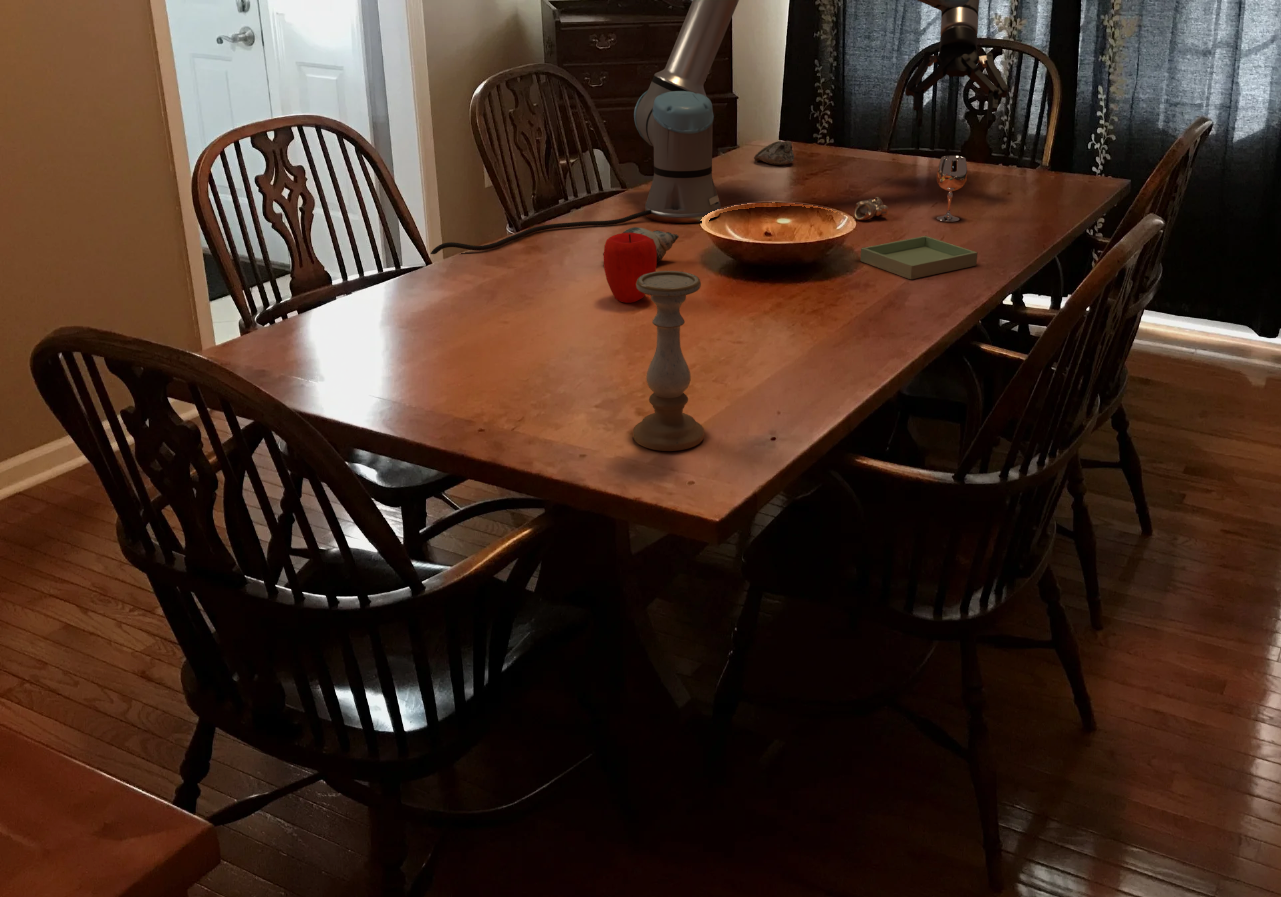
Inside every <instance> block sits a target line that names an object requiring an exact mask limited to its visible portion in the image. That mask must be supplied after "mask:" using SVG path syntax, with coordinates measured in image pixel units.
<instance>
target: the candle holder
mask: <svg viewBox="0 0 1281 897" xmlns="http://www.w3.org/2000/svg"><path fill="white" fill-rule="evenodd" d="M636 287H637V289H638V290H639V291H640V292H642V293H644V294H645V295H648V296H650V300H651V302H653V304H654V305H655V307H656V314H655V316H654V318H653V319H652V324H653V326H654V327H656V347H655V351H654V354H653V356H652V359H651V361H650V363H649V365H648V367H647V371H646V375H645V380H646V384H647V386H648V388H649V389H650V390H651V392H652V393H651V395H649V398H648V402H649V403H650V405H651V406H652V408H653V410H654V412H653V413H650V414H648V415H646V416H645V417H643V418H642V420H641V421H639V422H637V423H636V425H635V426H634V427H633V430H632V435H633V436H632V437H633V439H634V441H635V442H636V443H637V445H639V446H642V447H643V448H646V449H648V450H654V451H659V452H660V451H662V452H677V451H684V450H689V449H691V448H694V447H696V446H698V445H700V444H701V443H702V442H703V440H704V438H705V428H704V427H703V425H702V424H701V423H700V422H698V421H696V420H695V418H694V417H693V416H691V415H689V414H687V413H684V408H685V406H686V405H687V404H688V402H689V397H688V395H687V394H686V393H685V392H686V390H687V389H688V388H689V386H690V384H691V381H692V373H691V370H690V367H689V364H688V363H687V360H686V359H685V356H684V353H683V351H682V347H681V345H682V344H681V327H682V326H683V325H684V324H685V322H686V321H685V319H684V317H683V316H682V314H681V307H682V304H683V303H684V302H686V300H687V296H689V295H692V294H694V293H696V292H698V291H699V290H700V289H701V287H702V283H701V279H700V277H698V276H697V275H695V274H693V273H690V272H686V271H682V270H681V271H680V270H657V271H656V272H651V273H647V274H644V275H642V276H640V277H639V278H638V279H637V282H636Z"/></svg>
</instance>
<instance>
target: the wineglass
mask: <svg viewBox="0 0 1281 897" xmlns="http://www.w3.org/2000/svg"><path fill="white" fill-rule="evenodd" d="M967 180H968V164H967V158H966V157H964V156H960V155H944V156H941V158H940V160H939V163H938V166H937V171H936V182H937V184H938V186H939V187H940V188H941V189H943V190H944V191H948V193H947V196H946V197H947V210H946V212H945V214H943V215H939V216H937V217H936V220H938V221H941V222H947V223H951V222H958V221H960V218H959V217H958V216H956V215H952V213H951V205H952V204H951V203H952V200H953V197H954V194H953V192H954V191H958V190H960V189H962V188H963V187H964V186H965V184H966V183H967Z"/></svg>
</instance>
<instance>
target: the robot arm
mask: <svg viewBox="0 0 1281 897" xmlns="http://www.w3.org/2000/svg"><path fill="white" fill-rule="evenodd" d="M739 1H740V0H692V1H691V4H690V5H689V8H688V10H687V11H688V12H687V14H686V16H685V18H684V21H683V23H682V26H681V28H680V30H679V33H678V35H677V38H676V40H675V43H674V46H673V48H672V50H671V52H670V55H669V58H668V60H667V62H666V65H665V67H664V69H662V70H660V71H658V72H655V73H654V75H653V77H652V80H651V82H650V85H649V87H648V89H647V90H646V91H645V92H643V93H642V94H641V96H640V97H639V98H638V99H637V101H636V103H635V107H634V110H633V118H634V119H633V120H634V124H635V128H636V130H637V132H638V133H639V136H640V137H641V138H642V140H643V141H644V142H646V143H647V144H648V145H649V146H651V147H653V178H652V182H651V185H650V187H649V188H650V189H649V191H648V195H647V197H646V200H645V204H644V210H643V211H640V212H639V211H638V212H637V213H634V214H629V215H627V216H624V217H621V218H617V219H609V220H607V219H606V220H587V221H573V222H560V223H559V222H558V223H549V224H544V225H537V226H535V227H531V228H528V229H525V230H523V231H520V232H518V233H515V234H513V235H510V236H507V237H505V238H502V239H500V240H498V241H496V242H495V241H494V242H492V243H489V244H483V245H472V244H468V243H467V244H466V243H461V242H452V241H451V242H450V241H449V242H443V243H441V244H438V245H437V246H436V247H434V249H432V250H431V251H430V255H436V254H438V253H439V252H440V251H442V250H443V249H447V248H456V249H463V250H467V251H468V250H470V251H477V252H478V251H479V252H481V251H486V250H487V251H488V250H492V249H495V248H499V247H502V246H503V245H505V244H508V243H511V242H513V241H516V240H518V239H521V238H523V237H526V236H528V235H531V234H533V233H537V232H542V231H547V230H553V229H563V228H564V229H565V228H576V227H592V226H593V227H595V226H596V227H597V226H598V227H599V226H611V225H618V224H623V223H627V222H630V221H632V220H635V219H638V218H642V217H647V218H649V219H650V220H654V221H658V222H663V223H669V224H671V223H672V224H693V223H701V222H700V220H701V219H702V217H704V216H705V215H707V214H708V213H710V212H712V211H715V210H717V209H720V208H722V207H721V206H722V204H721V202H720V198H719V195H718V191H717V189H716V185H715V181H714V179H713V130H714V128H713V127H714V126H713V124H714V118H715V116H714V110H713V104H712V101H711V99H710V98H709V97H707V94H706V91H705V88H704V85H705V82H706V80H707V78H708V75H709V73H710V70H711V68H712V65H713V63H714V61H715V58H716V56H717V54H718V51H719V49H720V47H721V44H722V43H723V39H724V37H725V35H726V32H727V30H728V28H729V25H730V23H731V20H732V18H733V16H734V13H735V10H736V9H737V6H738V4H739ZM916 1H918V2H920V3H922V4H925V5H928V6H930V7H932V8H934V9H936V10H939V11H940V15H941V16H940V33H939V34H940V35H939V36H940V38H939V51H938V54H931V52H930V51H925V52H924V53H923V58H922V61H921V63H920V64H919V66H918V67H917V69H916V70H915V71H914V72H913V74H912V76H911V77H910V78H909V80H908V82H907V83H906V85H905V91H904V95H905V96H906V97H909V96H911V97H912V98H913V104H912V105H913V106H912V109H913V111H914V112H915V111H916V112H917V111H918V116H917V127H918V128H922V127H923V118H924V116H923V115H924V99H925V93H927V92H928V91H929V90H930V89H931V88H932V87H933V86H934V85H936V84H937V82H939V81H941V80H942V79H943V78H945V77H946V76H947V77H948V78H955V77H957V78H958V77H959V78H965V77H968V78H969V79H970V80H971V81H974V82H975V83H976V85H978V87H979V88H980V89H981V90H982V91H983V92H984V93H985V94H986V95H987V96H988V98H987V112H986V129H991V128H992V122H993V113H998V109H999V100H1000V98H1002V99H1005V98H1007V96H1008V92H1009V86H1008V84H1007V83H1006V81H1005V79H1004V77H1003V75H1002V74H1001V72H1000V70H999V69H998V67H997V65H996V64H995V62H994V56H993V53H992V52H989V51H988V52H987V53H986V55H979V54H978V33H979V10H980V0H916ZM935 63H936V65H937V67H936V68H935V69H934V70H933V71H932V72H931V73H930V74H929V75H927V76H926V77H925V78H924V79H923V77H924V76H925V75H926V73H927V71H928V69H929V68H931V67H932V66H933V65H934V64H935ZM979 64H981V66H982V68H984V69H985V70H986V73H987V74H988V76H989V78H990V79H989V78H988V77H987V76H986V75H985V73H983V72H982V70H980V68H979V66H978V65H979ZM922 79H923V80H922ZM921 80H922V81H921Z"/></svg>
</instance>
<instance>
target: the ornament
mask: <svg viewBox="0 0 1281 897" xmlns="http://www.w3.org/2000/svg"><path fill="white" fill-rule="evenodd" d="M853 215H854V217H855V219H856V220H857V221H868V220H871V219H872V218H873V217H875V216H876V217H879V216H880V215H881V216H888V215H889V207H888V205H885V204H884V202H883V200H882V199H881V198H880V197H879V196H875V199H873V198H869V199H864V200H860V201H858V202H856V203H855V209H854V214H853Z"/></svg>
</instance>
